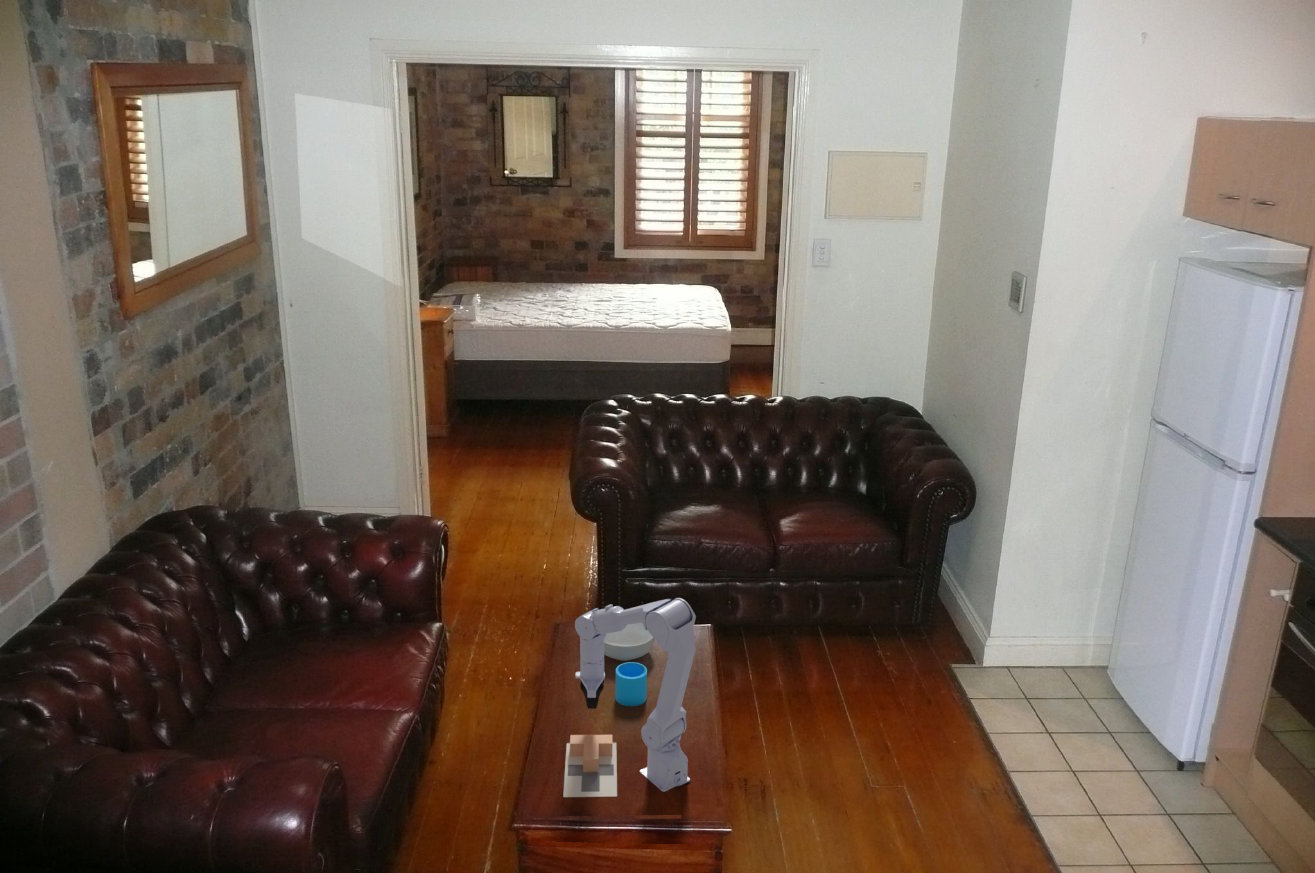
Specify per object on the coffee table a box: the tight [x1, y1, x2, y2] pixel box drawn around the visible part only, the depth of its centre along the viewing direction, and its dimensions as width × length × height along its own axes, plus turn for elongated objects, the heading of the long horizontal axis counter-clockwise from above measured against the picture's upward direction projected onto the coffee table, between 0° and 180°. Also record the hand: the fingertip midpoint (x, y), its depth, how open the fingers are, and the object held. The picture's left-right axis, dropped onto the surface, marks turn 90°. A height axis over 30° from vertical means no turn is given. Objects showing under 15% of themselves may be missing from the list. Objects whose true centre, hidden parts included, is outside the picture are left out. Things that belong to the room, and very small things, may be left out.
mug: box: [615, 661, 648, 707], centre depth 268 cm, size 12×8×8 cm
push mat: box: [563, 742, 618, 798], centre depth 238 cm, size 20×12×1 cm, turn 3°
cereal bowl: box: [604, 623, 655, 662], centre depth 287 cm, size 17×17×7 cm
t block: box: [569, 734, 613, 772], centre depth 241 cm, size 10×10×4 cm
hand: (592, 707), depth 248 cm, fingers closed
